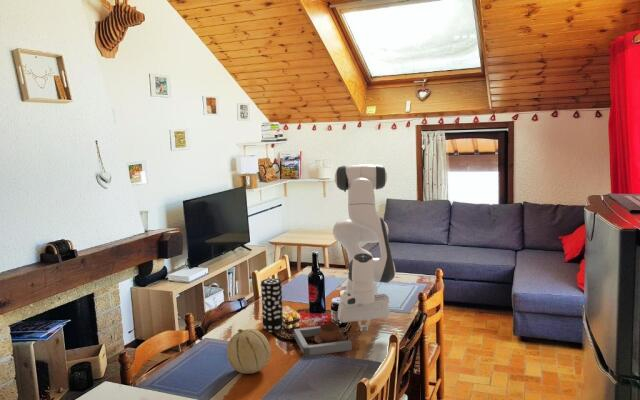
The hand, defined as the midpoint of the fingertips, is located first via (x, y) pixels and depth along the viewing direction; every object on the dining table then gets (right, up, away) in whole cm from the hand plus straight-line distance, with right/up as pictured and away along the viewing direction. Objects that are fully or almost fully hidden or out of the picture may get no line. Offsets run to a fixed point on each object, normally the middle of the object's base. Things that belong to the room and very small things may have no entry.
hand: (363, 330), depth 206 cm
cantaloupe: (-41, -8, -26) cm, 49 cm away
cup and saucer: (-13, -4, -3) cm, 14 cm away
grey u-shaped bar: (-16, -4, -4) cm, 17 cm away
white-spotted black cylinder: (-37, -2, +12) cm, 39 cm away
